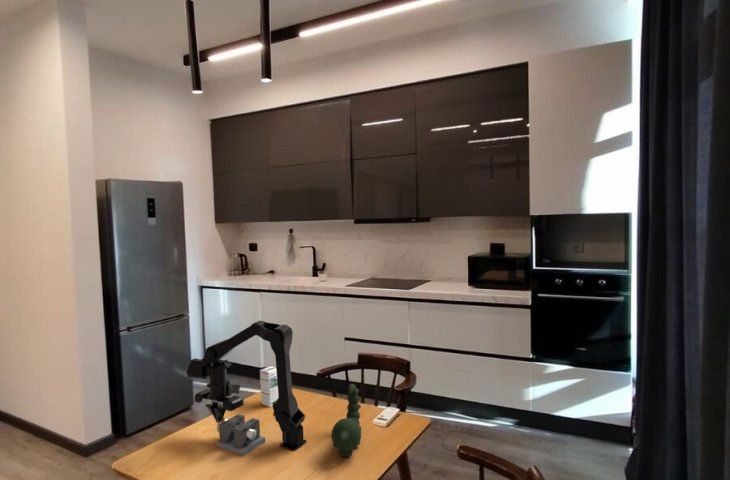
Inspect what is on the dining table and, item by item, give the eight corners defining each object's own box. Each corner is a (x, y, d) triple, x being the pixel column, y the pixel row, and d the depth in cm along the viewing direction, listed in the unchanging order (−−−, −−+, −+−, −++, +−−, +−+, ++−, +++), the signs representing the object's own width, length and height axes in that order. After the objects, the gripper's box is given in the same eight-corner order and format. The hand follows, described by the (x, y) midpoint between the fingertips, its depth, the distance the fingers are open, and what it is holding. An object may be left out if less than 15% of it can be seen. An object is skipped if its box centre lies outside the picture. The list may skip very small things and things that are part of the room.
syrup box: (270, 407, 173) (269, 372, 172) (260, 404, 176) (259, 369, 176) (281, 402, 177) (279, 368, 177) (271, 399, 181) (270, 365, 181)
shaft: (259, 439, 143) (258, 424, 143) (248, 445, 139) (247, 430, 139) (228, 429, 150) (227, 415, 150) (217, 435, 146) (216, 421, 146)
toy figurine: (341, 433, 153) (326, 466, 128) (341, 379, 154) (326, 402, 129) (367, 434, 152) (357, 467, 127) (366, 380, 153) (356, 402, 128)
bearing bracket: (265, 441, 145) (264, 420, 145) (243, 455, 137) (242, 432, 136) (240, 433, 151) (239, 413, 151) (217, 446, 143) (216, 424, 142)
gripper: (254, 376, 151) (256, 419, 151) (217, 368, 160) (219, 409, 161) (229, 386, 141) (231, 433, 142) (192, 378, 150) (194, 421, 151)
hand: (219, 423), depth 149 cm, fingers closed
